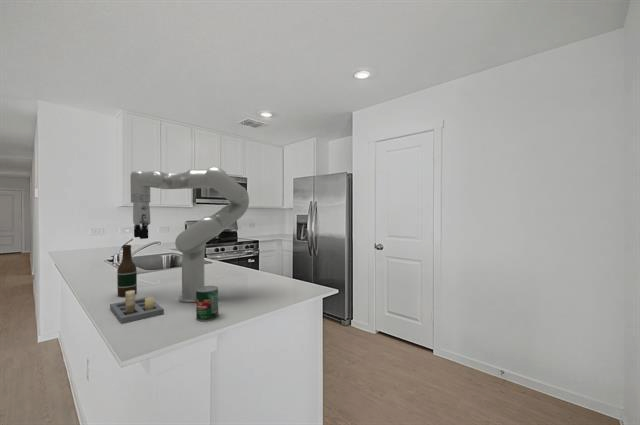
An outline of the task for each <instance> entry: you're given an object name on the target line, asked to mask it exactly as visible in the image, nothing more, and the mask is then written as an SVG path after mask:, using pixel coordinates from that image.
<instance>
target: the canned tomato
mask: <svg viewBox="0 0 640 425" xmlns="http://www.w3.org/2000/svg"><path fill="white" fill-rule="evenodd" d="M195 307H196V309H195V310H196V315H195V317H196V320H197V321H199V322H210V321H213V320H216V319H218V318H219V287H218V286H215V285H204V287H200V288H197V289H196V302H195Z"/></svg>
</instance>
